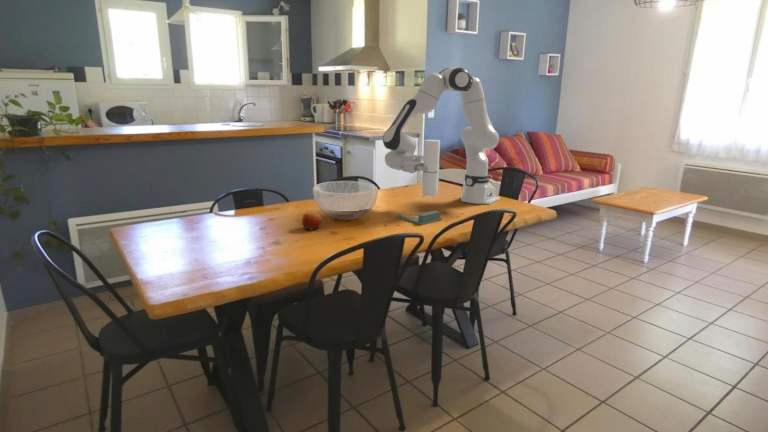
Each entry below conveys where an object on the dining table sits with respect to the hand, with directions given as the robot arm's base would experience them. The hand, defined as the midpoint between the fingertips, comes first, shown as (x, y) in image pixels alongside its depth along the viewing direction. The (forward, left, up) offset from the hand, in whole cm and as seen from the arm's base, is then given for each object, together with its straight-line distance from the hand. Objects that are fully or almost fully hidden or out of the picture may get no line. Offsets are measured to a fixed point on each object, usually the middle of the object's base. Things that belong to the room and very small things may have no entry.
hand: (432, 168), depth 212 cm
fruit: (+57, -15, -22) cm, 63 cm away
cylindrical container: (0, -1, -13) cm, 13 cm away
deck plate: (+10, +2, -22) cm, 24 cm away
